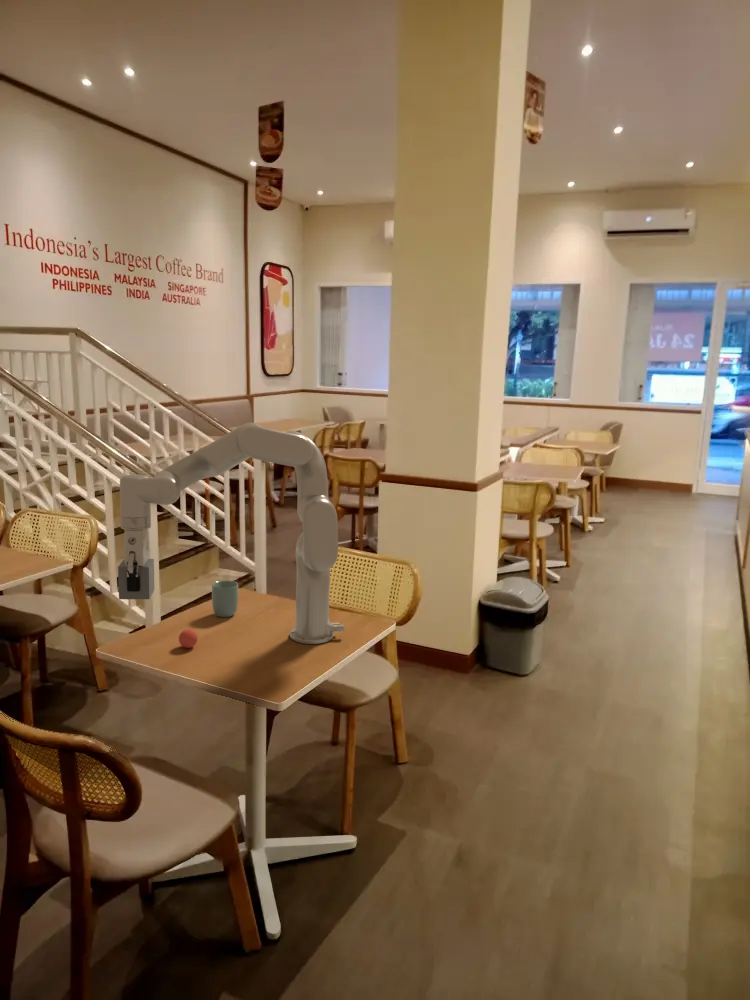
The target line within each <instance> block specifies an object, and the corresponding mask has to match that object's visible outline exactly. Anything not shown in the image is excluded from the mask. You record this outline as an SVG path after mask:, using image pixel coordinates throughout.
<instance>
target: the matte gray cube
mask: <svg viewBox="0 0 750 1000" xmlns="http://www.w3.org/2000/svg"><path fill="white" fill-rule="evenodd" d="M134 565H137V564H136V563H134ZM117 569H118V570H117V577H118V578H117V579H118V583H117V584H118V600H150V599H151V596H152V595H153V594H154V592H155V558H149V560H148V562H147V563H146V565H145V566H144V567H142V566H139V576H140V591H138V592H129V591H127V569H128V567H127V566H126V565H125V558H124V559H123V560H122V561H121V562H120V564H119V565H118V566H117ZM134 569H135V570H136V568H134Z"/></svg>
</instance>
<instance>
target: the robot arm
mask: <svg viewBox="0 0 750 1000" xmlns="http://www.w3.org/2000/svg"><path fill="white" fill-rule="evenodd" d="M248 459H254V460H259V461H263V462H267V463H272V464H278V465H283V466H287V467H293V468H294V471H295V474H296V484H297V487H296V488H297V493H296V494H297V496H296V497H297V509H296V511H297V516H298V519H299V521H301V523H302V532H301V533H300V535H298V537H297V540H296V543H295V563H296V583H295V584H296V585H295V586H296V587H295V588H296V589H295V590H296V591H295V627H293V628H292V629H291V630H290V632H289V637H290V639H291V640H293V641H294V642H296V643H300V644H305V645H315V644H316V645H319V644H324V643H326V642H329V641H331V640H332V639H333V638H334V633H335V632H338V633H339V632H342V633H343V632H345V624H340V622H332V621H330V617H329V616H330V615H329V614H330V592H331V591H330V588H331V586H330V585H331V569H332V568H333V567H334V565H335V564H336V562H337V559H338V556H339V526H338V525H339V522H338V513H337V510H336V508H335V505H334V504H333V503H332V501H330V498H329V486H328V485H329V484H328V470H327V465H326V464H327V463H326V461H325V457H324V456H323V454H322V451H321V450H320V449H319V447H318V445H317V444H316V443H315V442H313V440H312V439H311V438H309V437H308V436H306V435H304V434H303V433H300V432H299V431H296V430H287V431H279V430H276V429H272V428H267V427H264V426H262V425H260V424H258V423H256V422H246V423H244V424H241V425H240V426H237V427H236V428H235V429H233V430H231V431H229V432H227V433H226V434H224V435H223V436H221V437H219V438H218V439H216V440H213V442H211V443H209V444H207V445H205V446H203V447H201V448H200V449H198V450H195V451H194V452H192V453H190V454H189V455H186V456H184V457H183V458H181V459H179V460H177V461H175V462H174V463H171V464H170V465H169V466H167V467H165V468H164V469H161V470H160V471H159V472H158V473H156V474H155V475H154V476H153V477H149V476H148V475H145V474H137V473H136V474H135V473H134V474H133V473H132V474H130V473H129V474H125V475H123V476H121V478H120V480H119V502H120V503H119V506H120V507H119V508H120V510H119V511H120V512H119V514H120V515H119V516H120V518H119V520H120V529H122V530H124V537H123V538H124V544H123V545H124V546H123V547H124V548H123V549H124V552H123V553H124V555H123V556H124V559H125V565H126V566H127V567H128V569H127V591H129V592H138V591H140V576H139V566H142V567H144V566H145V565H146V563H147V562H148V560H149V559H151V558H150V557H151V552H150V551H151V550H150V548H151V547H150V536H149V535H150V534H149V533H150V532H149V529H150V528H152V522H151V521H152V520H151V519H152V518H151V515H152V514H151V511H152V510H151V504H155V505H163V506H168V505H171V504H174V503H176V502H177V501H178V499H180V496H181V491H183V490H186V489H187V488H188V487H190V486H191V485H193V484H195V483H198V482H200V481H202V480H204V479H208V478H214V477H219V476H222V475H223V474H225V473H226V472H228V471H230V470H231V469H233V468H234V467H236V466H237V465H239V464H241V463H243V462H245V461H247V460H248ZM134 563H136V564H137V565H134ZM134 568H136V570H135V569H134Z"/></svg>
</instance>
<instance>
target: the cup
mask: <svg viewBox="0 0 750 1000" xmlns="http://www.w3.org/2000/svg"><path fill="white" fill-rule="evenodd" d="M211 585H212V586H211V603H212V610H213V613H214V614H215V616H217V617H219V618H229V617H232V616H233V615H235V614H236V612H237V610H238V605H239V583H238V582H237V581H234V580H218V581H215V582H213V583H212V584H211Z"/></svg>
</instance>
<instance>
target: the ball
mask: <svg viewBox="0 0 750 1000" xmlns="http://www.w3.org/2000/svg"><path fill="white" fill-rule="evenodd" d="M198 639H199V638H198V634H197V632H196V631H195V630H193V629H190V628H187V629H184V630H182V631H181V632H180V633H179V636H178V641H179V644H180V645H181V646H182V647H183V648H186V649H189V648H193V647H194V646H195V645H196V644H197V642H198Z"/></svg>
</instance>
